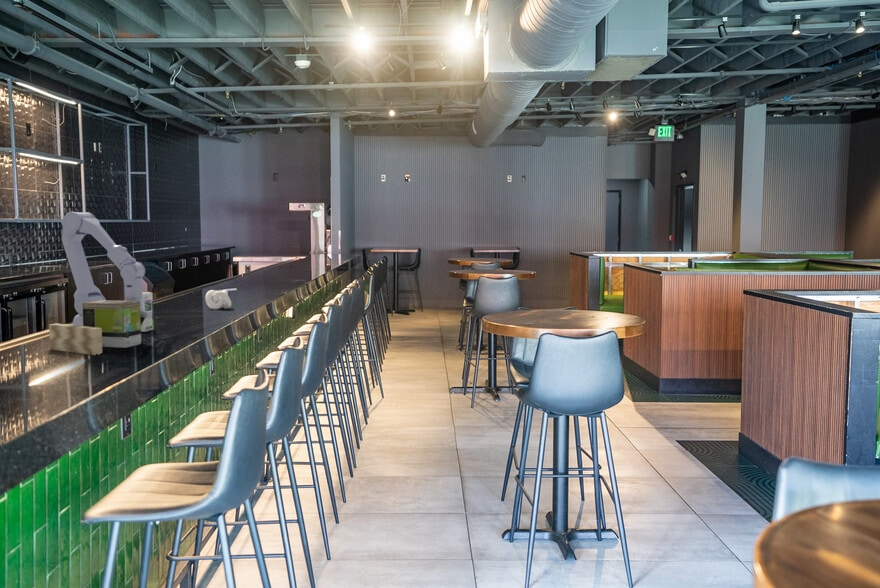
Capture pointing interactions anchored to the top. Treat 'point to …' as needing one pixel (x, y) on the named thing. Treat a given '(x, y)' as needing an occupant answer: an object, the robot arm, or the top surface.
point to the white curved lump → (218, 299)
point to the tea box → (114, 321)
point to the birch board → (75, 338)
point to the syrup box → (147, 306)
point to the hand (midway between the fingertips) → (134, 337)
